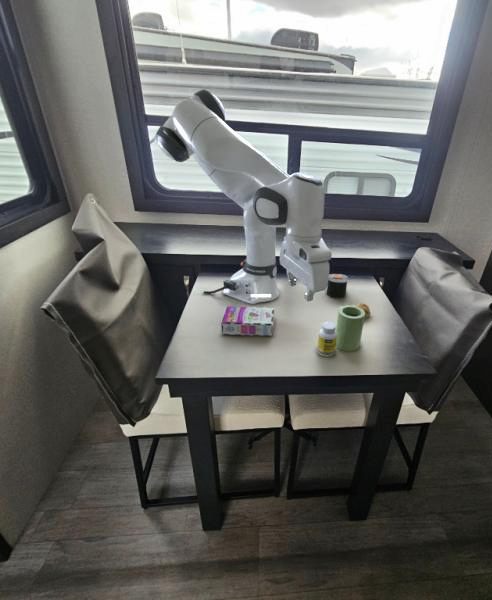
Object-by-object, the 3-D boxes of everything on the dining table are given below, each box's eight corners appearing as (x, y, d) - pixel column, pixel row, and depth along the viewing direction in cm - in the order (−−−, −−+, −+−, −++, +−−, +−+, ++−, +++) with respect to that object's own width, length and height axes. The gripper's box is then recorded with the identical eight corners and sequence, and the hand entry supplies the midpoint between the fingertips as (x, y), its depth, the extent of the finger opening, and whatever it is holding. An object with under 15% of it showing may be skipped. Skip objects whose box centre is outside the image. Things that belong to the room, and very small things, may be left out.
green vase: (332, 347, 100) (336, 314, 94) (338, 333, 106) (342, 303, 101) (356, 353, 98) (362, 320, 92) (361, 339, 104) (367, 308, 99)
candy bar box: (221, 335, 102) (272, 337, 103) (220, 322, 100) (272, 324, 100) (228, 317, 112) (274, 318, 112) (227, 305, 109) (274, 306, 110)
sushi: (345, 298, 129) (348, 281, 125) (325, 296, 130) (327, 278, 126) (346, 290, 136) (348, 273, 132) (327, 288, 137) (329, 271, 133)
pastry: (354, 323, 113) (355, 314, 111) (341, 315, 117) (342, 306, 115) (371, 315, 118) (373, 307, 116) (358, 308, 123) (359, 299, 121)
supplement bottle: (322, 358, 94) (325, 331, 90) (314, 348, 99) (316, 322, 94) (337, 355, 97) (341, 328, 92) (329, 344, 101) (332, 318, 96)
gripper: (274, 232, 85) (273, 278, 92) (312, 259, 70) (308, 312, 77) (295, 230, 88) (292, 275, 95) (336, 255, 73) (329, 307, 80)
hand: (299, 292), depth 86 cm, fingers open, 8 cm apart
